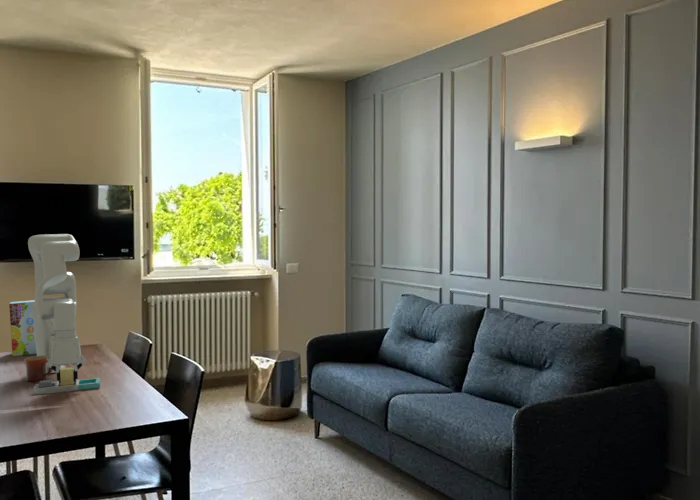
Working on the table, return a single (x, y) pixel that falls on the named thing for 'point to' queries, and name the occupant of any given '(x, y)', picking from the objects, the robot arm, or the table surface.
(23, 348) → the snack box
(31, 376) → the mug
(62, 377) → the wooden block
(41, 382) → the grey hollow block
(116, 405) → the table surface
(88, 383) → the rail
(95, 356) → the table surface
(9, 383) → the table surface
